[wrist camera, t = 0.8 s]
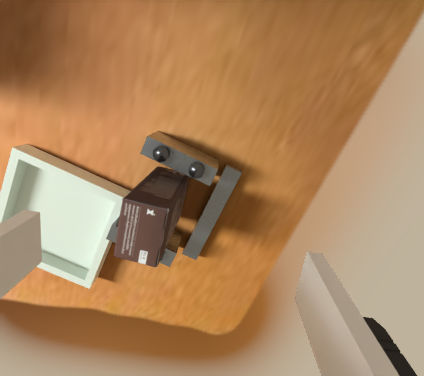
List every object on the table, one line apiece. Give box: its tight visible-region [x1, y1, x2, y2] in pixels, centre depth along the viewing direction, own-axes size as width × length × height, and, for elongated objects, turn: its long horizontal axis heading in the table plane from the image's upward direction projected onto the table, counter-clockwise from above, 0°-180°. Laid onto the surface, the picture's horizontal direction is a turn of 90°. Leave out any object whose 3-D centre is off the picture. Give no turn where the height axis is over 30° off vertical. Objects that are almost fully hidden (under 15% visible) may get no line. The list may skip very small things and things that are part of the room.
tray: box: [0, 144, 131, 289], centre depth 37 cm, size 14×14×3 cm
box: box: [114, 167, 189, 267], centre depth 31 cm, size 6×4×12 cm
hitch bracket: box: [106, 131, 242, 267], centre depth 34 cm, size 11×13×6 cm
